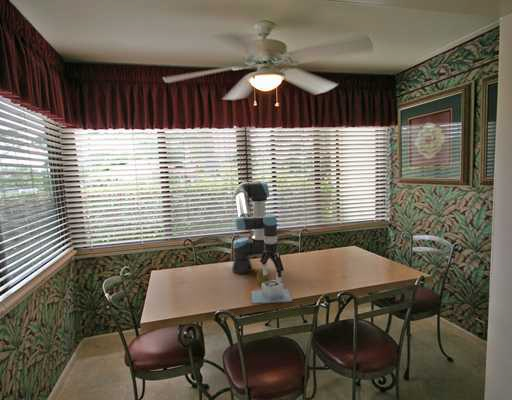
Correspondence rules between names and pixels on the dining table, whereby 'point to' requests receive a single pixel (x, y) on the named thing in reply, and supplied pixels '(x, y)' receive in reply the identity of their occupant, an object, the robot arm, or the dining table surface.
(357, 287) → the dining table surface
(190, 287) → the dining table surface
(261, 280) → the potato
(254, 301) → the vent plate
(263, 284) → the grey open box
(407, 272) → the dining table surface
